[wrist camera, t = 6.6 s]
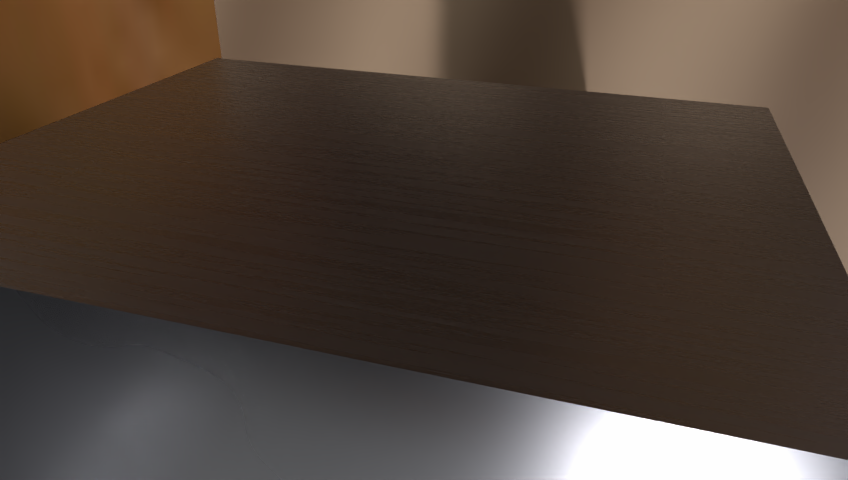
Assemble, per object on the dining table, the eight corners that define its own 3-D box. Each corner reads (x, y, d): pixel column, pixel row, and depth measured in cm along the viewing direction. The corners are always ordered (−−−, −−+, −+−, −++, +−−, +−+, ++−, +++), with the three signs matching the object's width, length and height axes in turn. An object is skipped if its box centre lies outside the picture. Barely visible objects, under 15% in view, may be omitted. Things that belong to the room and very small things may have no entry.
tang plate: (1007, -244, 12) (1129, -288, 9) (789, 439, 19) (813, 546, 16) (214, -209, 16) (107, -232, 13) (280, 342, 24) (222, 413, 21)
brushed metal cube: (768, 107, 7) (944, 478, 3) (660, 536, 10) (659, 1047, 5) (217, 58, 8) (-237, 236, 4) (265, 439, 11) (26, 776, 7)
